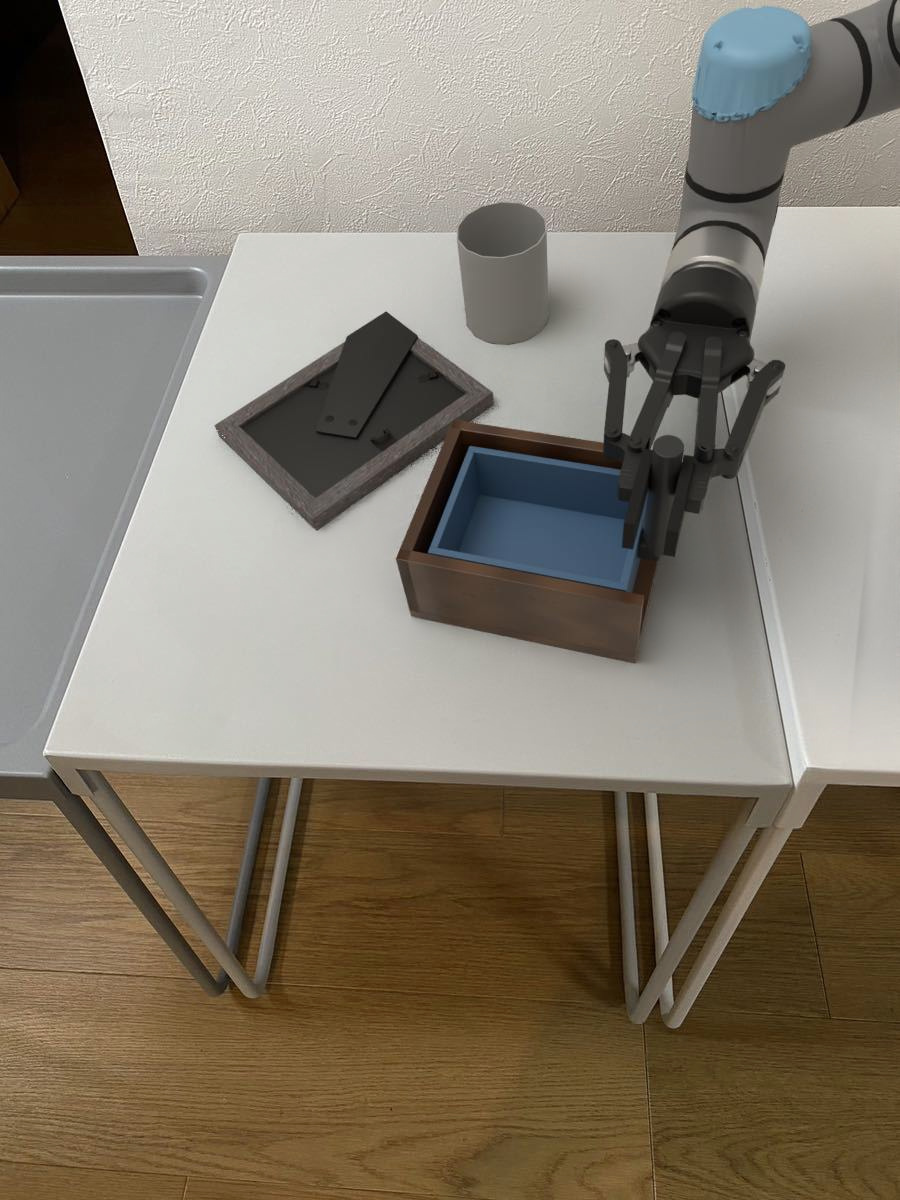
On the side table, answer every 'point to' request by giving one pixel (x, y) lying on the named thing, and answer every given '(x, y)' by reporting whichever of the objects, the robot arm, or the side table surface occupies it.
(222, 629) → the side table surface
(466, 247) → the cup
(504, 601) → the walnut drawer box
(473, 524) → the blue drawer insert
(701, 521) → the side table surface
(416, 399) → the picture frame
